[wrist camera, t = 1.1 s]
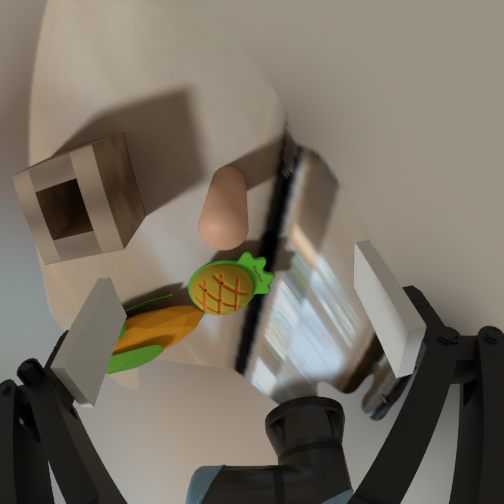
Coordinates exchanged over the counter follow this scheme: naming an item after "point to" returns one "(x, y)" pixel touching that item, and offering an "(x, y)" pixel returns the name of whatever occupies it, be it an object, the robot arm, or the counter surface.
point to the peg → (225, 210)
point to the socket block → (69, 203)
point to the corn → (151, 334)
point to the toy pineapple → (229, 284)
